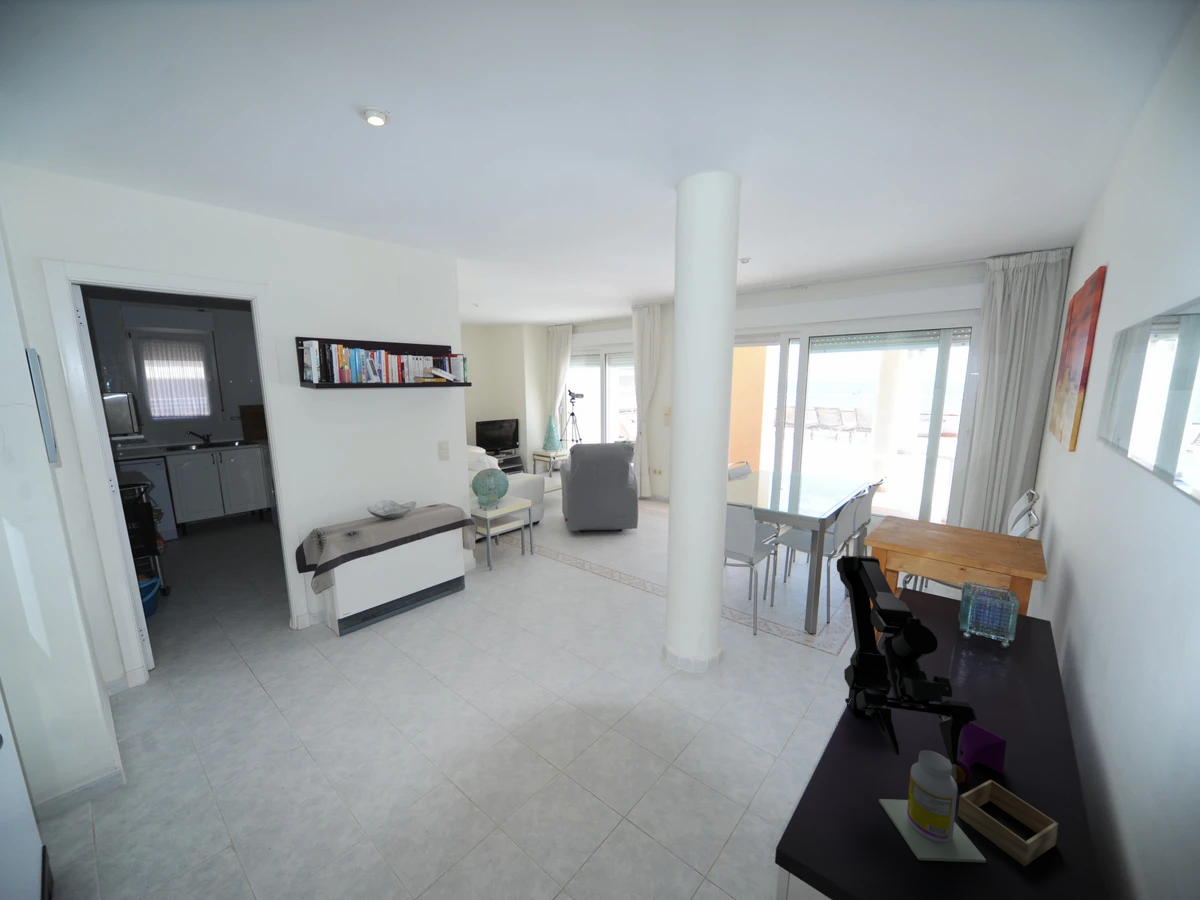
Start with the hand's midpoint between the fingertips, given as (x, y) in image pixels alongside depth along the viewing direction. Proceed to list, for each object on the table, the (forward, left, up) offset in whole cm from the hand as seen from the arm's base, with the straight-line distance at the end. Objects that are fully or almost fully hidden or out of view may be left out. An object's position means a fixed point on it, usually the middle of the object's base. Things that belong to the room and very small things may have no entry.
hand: (925, 759), depth 82 cm
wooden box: (+14, -1, -11) cm, 17 cm away
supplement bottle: (0, -3, -11) cm, 11 cm away
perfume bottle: (+23, +17, -7) cm, 30 cm away
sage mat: (0, -3, -11) cm, 11 cm away
